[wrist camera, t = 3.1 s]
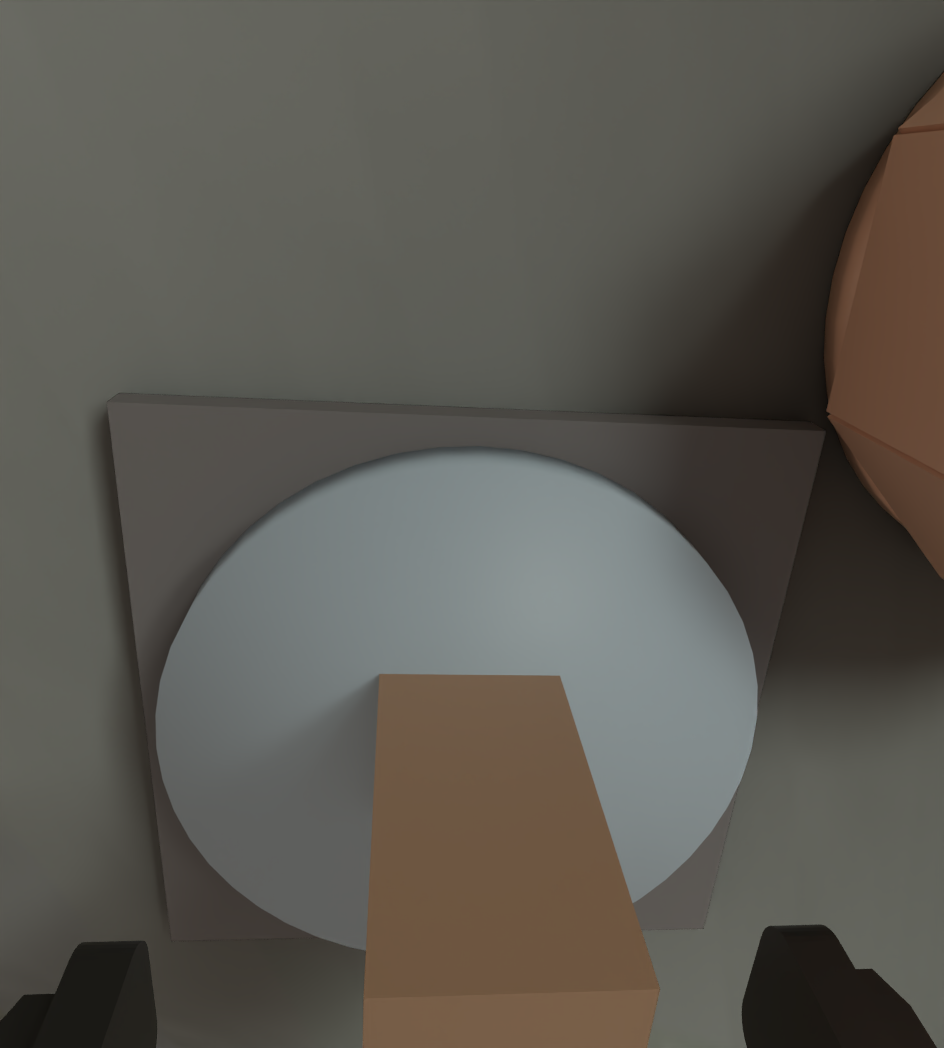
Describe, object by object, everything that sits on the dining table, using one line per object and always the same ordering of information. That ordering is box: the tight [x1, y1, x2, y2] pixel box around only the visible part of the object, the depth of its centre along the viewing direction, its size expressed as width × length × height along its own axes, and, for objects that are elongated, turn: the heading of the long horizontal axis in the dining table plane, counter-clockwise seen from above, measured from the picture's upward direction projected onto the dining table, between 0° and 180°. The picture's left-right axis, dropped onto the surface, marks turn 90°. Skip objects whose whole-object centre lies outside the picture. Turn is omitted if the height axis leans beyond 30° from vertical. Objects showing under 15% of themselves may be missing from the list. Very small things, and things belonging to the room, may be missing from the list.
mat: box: [107, 393, 826, 941], centre depth 16 cm, size 12×12×1 cm
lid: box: [155, 446, 758, 1048], centre depth 12 cm, size 11×11×7 cm
